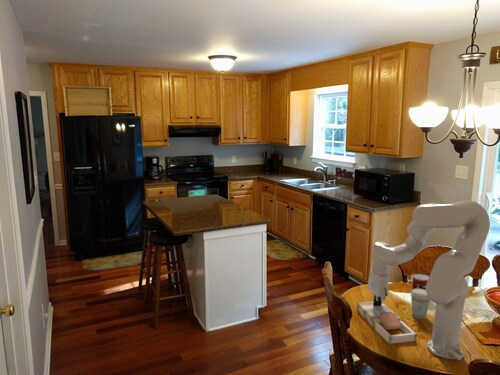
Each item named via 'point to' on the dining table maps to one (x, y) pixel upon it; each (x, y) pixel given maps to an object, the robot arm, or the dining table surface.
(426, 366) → the dining table surface
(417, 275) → the canned food
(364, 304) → the birch plate
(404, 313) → the dining table surface
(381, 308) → the tile slate
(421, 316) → the coffee cup
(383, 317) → the tile terracotta
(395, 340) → the box
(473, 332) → the dining table surface
